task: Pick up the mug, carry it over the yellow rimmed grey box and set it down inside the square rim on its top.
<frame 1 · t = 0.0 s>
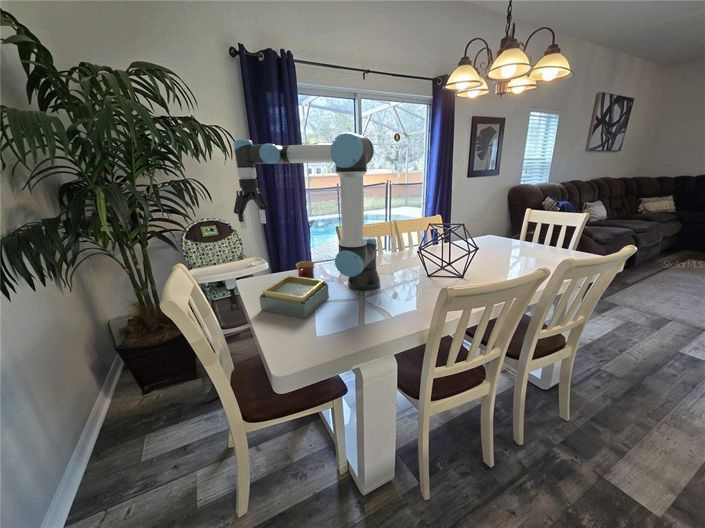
hand: (254, 226, 133), 28 cm above the table, fingers open, 13 cm apart
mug: (305, 285, 137), on the table
yellow rimmed grey box: (296, 303, 119), on the table
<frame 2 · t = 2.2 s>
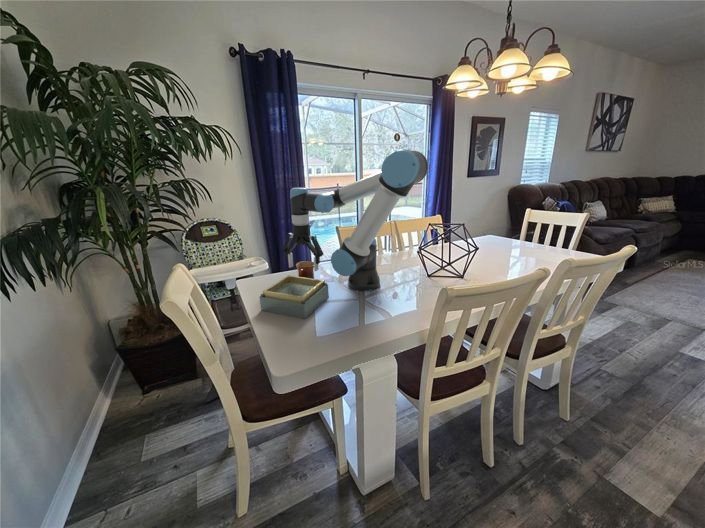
hand: (303, 268, 134), 8 cm above the table, fingers open, 13 cm apart
nothing on the table moved.
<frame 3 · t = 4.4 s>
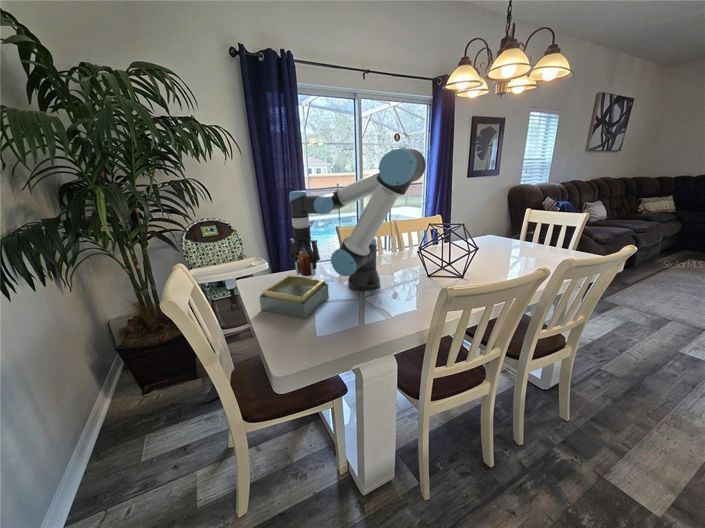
hand: (306, 274, 135), 6 cm above the table, fingers closed on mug, 7 cm apart
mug: (306, 275, 135), point 5 cm above the table, touching gripper
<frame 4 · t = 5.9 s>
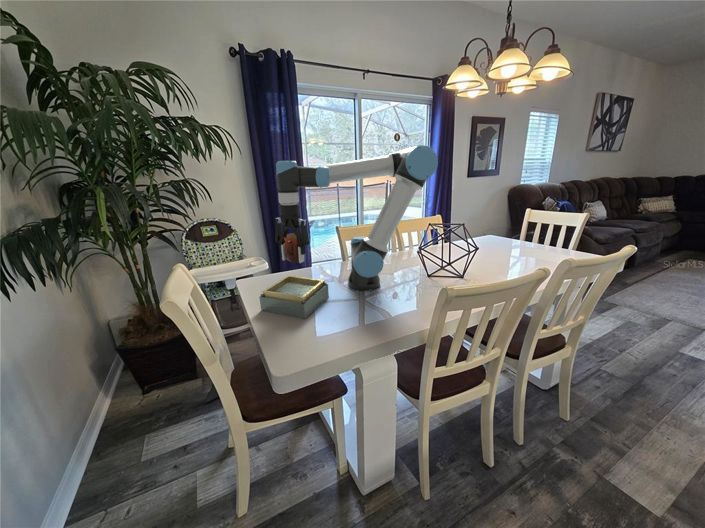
hand: (293, 260, 117), 18 cm above the table, fingers closed on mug, 7 cm apart
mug: (294, 261, 117), point 17 cm above the table, touching gripper
when the fingers open (8 cm above the table, at t = 7.6 s): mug drops 1 cm, resting on yellow rimmed grey box.
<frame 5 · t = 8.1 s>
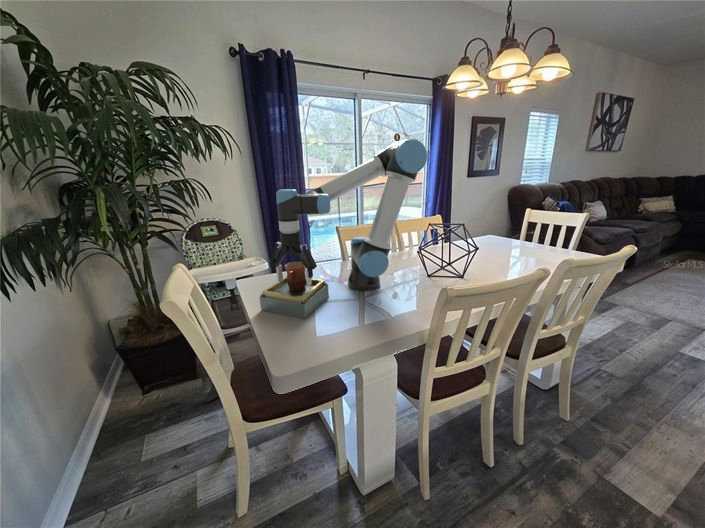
hand: (294, 282, 116), 9 cm above the table, fingers open, 13 cm apart
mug: (296, 290, 117), point 6 cm above the table, touching yellow rimmed grey box
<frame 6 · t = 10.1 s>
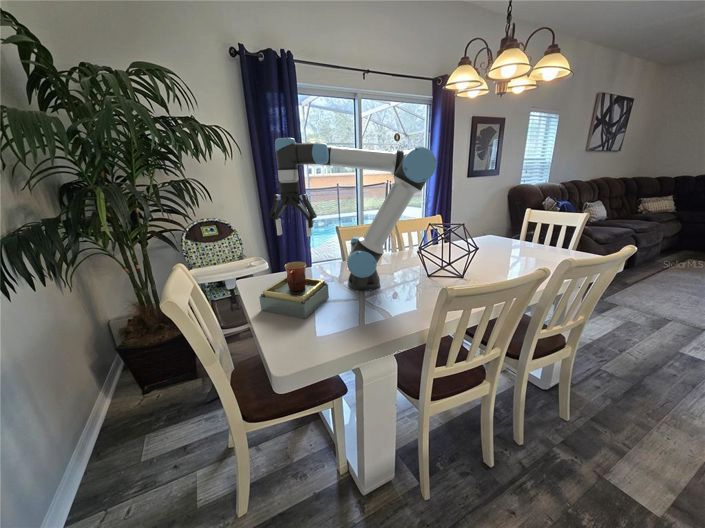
hand: (294, 235, 118), 27 cm above the table, fingers open, 13 cm apart
nothing on the table moved.
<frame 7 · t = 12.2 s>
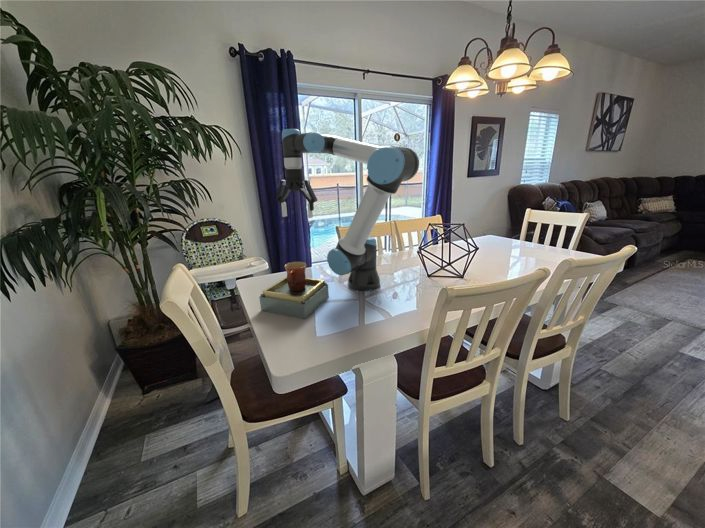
hand: (297, 217, 131), 32 cm above the table, fingers open, 13 cm apart
nothing on the table moved.
at the end: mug inside the target area on the yellow rimmed grey box (0.3 cm from its centre), point 5.8 cm above the yellow rimmed grey box's base; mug tilted 0°; the gripper is holding nothing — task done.
